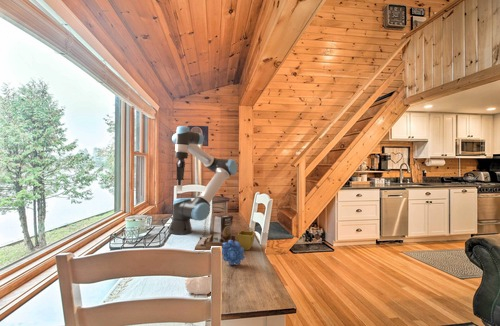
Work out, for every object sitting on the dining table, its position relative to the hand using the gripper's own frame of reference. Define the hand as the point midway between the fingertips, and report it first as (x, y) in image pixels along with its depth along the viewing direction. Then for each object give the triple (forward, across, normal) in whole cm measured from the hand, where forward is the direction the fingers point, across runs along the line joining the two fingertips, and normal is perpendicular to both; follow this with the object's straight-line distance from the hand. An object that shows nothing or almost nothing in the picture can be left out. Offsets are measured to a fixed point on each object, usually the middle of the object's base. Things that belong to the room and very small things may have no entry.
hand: (179, 190), depth 149 cm
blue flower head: (+30, -35, -34) cm, 58 cm away
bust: (+30, -59, -24) cm, 70 cm away
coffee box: (+29, -9, -28) cm, 41 cm away
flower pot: (+31, -10, -42) cm, 53 cm away
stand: (+30, -9, -25) cm, 40 cm away
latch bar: (+28, -9, -17) cm, 34 cm away
